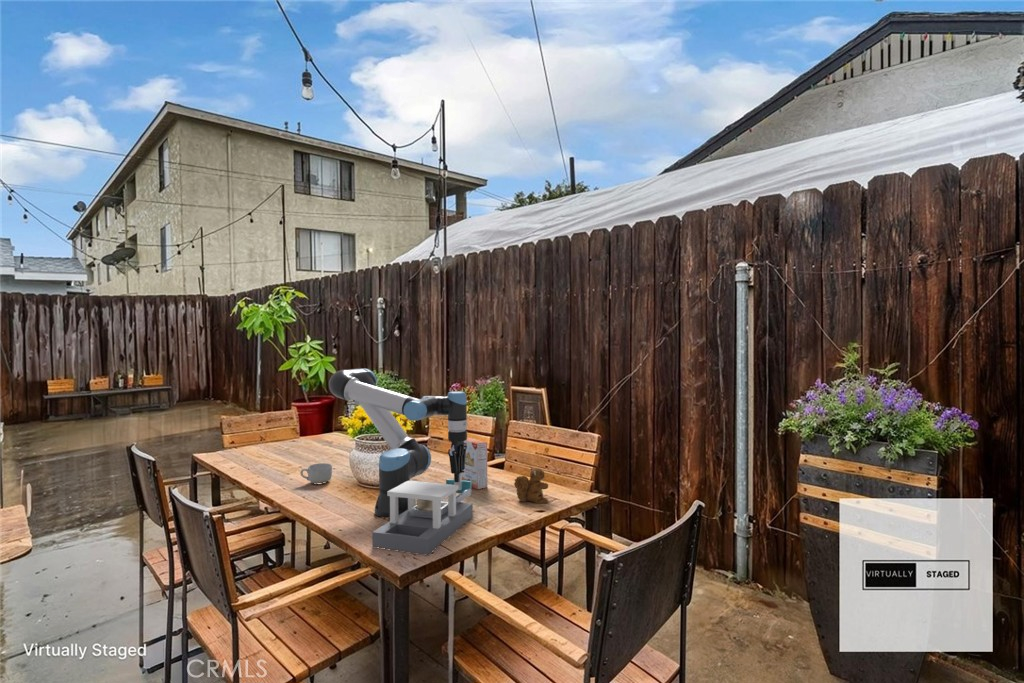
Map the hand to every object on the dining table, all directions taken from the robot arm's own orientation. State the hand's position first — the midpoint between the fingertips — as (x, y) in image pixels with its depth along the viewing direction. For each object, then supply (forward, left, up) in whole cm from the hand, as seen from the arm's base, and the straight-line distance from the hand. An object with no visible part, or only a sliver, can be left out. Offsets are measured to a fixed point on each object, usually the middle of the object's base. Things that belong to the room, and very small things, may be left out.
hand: (458, 489), depth 202 cm
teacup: (-77, +12, -7) cm, 78 cm away
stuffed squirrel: (+26, +17, -7) cm, 32 cm away
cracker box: (-5, +30, -7) cm, 31 cm away
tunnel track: (0, -26, -7) cm, 27 cm away
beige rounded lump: (0, -25, -2) cm, 25 cm away
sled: (0, -13, -2) cm, 13 cm away
